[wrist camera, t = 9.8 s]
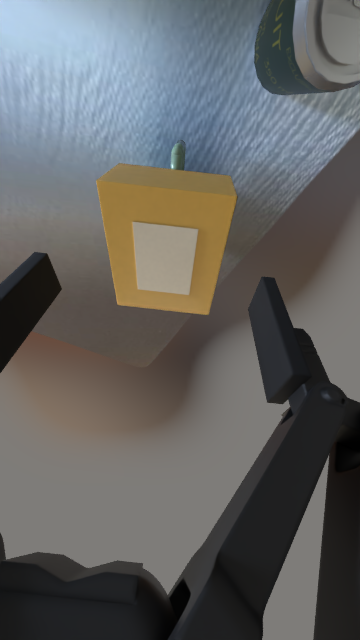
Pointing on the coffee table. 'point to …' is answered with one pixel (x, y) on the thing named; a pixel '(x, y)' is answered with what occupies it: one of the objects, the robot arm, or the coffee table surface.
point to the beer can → (308, 46)
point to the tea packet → (165, 234)
